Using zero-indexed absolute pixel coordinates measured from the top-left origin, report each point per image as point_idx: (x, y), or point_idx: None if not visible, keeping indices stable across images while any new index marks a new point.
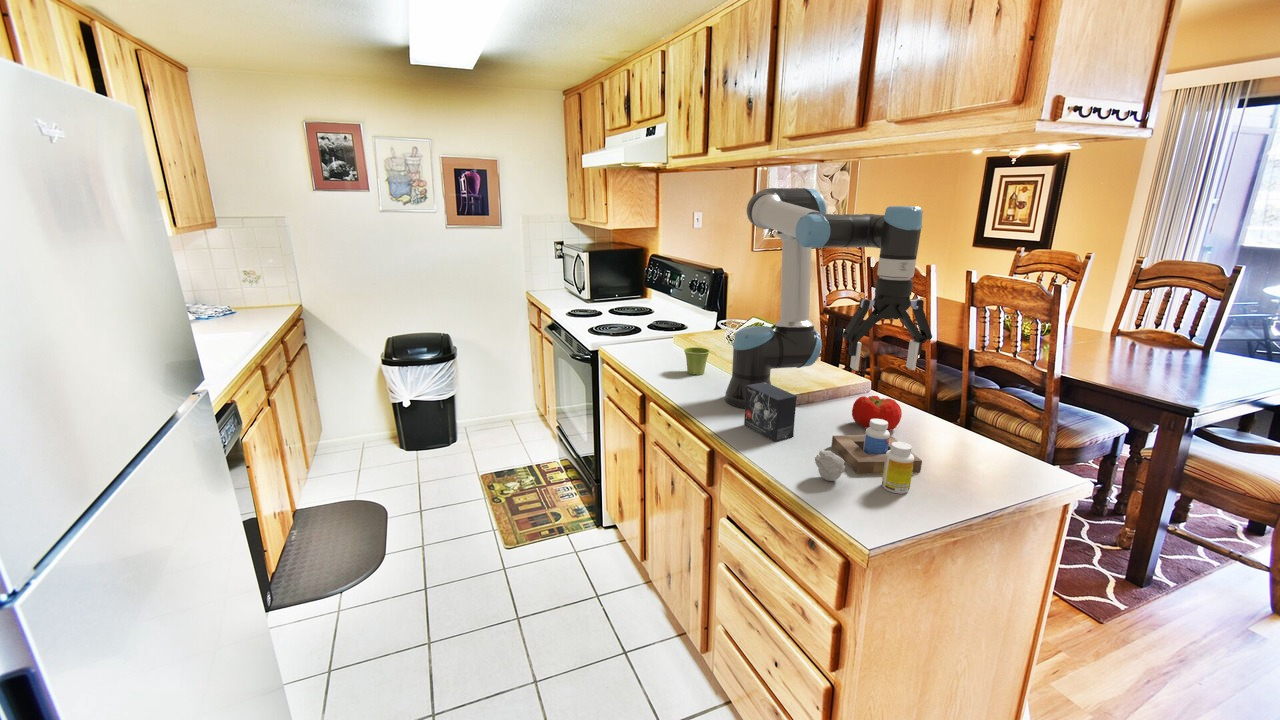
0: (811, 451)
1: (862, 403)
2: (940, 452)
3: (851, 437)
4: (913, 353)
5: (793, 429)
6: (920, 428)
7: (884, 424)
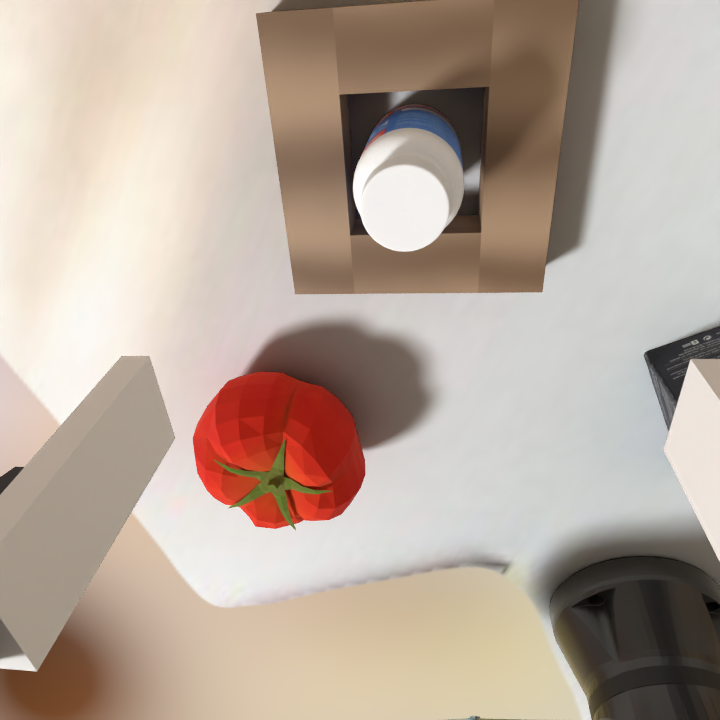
0: (645, 228)
1: (335, 480)
2: (128, 210)
3: (468, 272)
4: (72, 477)
5: (658, 371)
6: None
7: (394, 166)
